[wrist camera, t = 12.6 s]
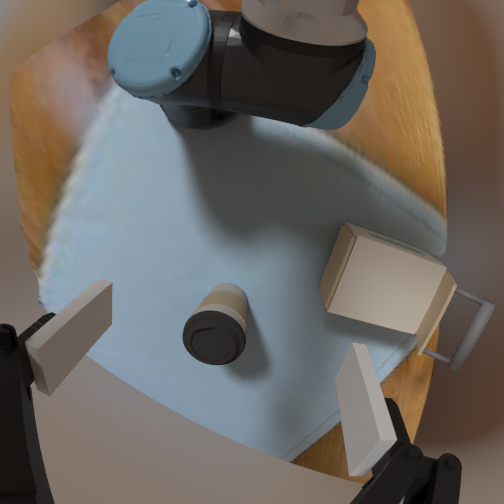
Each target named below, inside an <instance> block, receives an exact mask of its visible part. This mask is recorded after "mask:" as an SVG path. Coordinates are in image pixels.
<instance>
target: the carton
mask: <svg viewBox="0 0 504 504" xmlns="http://www.w3.org/2000/svg"><path fill="white" fill-rule="evenodd" d="M446 269H447V267H445V266H444V265H443V264H441V263H440V262H439V261H437V260H436V259H435V258H433V257H432V256H431V255H429V254H428V253H427V252H425V251H424V250H421V249H419V248H416V247H413V246H411V245H408V244H406V243H403V242H400V241H398V240H395V239H392V238H389V237H387V236H384V235H381V234H378V233H376V232H373V231H370V230H367V229H365V228H362V227H359V226H356V225H353V224H350V223H347V222H345V224H344V225H341V228H340V231H339V234H338V236H337V239H336V242H335V245H334V247H333V250H332V253H331V255H330V258H329V261H328V263H327V266H326V268H325V271H324V274H323V276H322V279H321V281H320V284H319V289H320V293H321V296H322V300H323V304H324V307H326V309H327V312H330V313H334V314H338V315H341V316H345V317H349V318H352V319H356V320H360V321H364V322H367V323H371V324H375V325H379V326H383V327H387V328H390V329H394V330H398V331H402V332H406V333H410V334H414V335H415V333H416V331H417V329H418V327H419V326H420V324H421V322H422V320H423V318H424V316H425V314H426V312H427V310H428V308H429V306H430V304H431V302H432V300H433V298H434V296H435V294H436V292H437V289H438V287H439V285H440V283H441V281H442V278H443V276H444V274H445V272H446Z"/></svg>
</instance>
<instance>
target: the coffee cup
mask: <svg viewBox="0 0 504 504" xmlns="http://www.w3.org/2000/svg"><path fill="white" fill-rule="evenodd" d="M246 327H247V296H246V294H245V292H244V291H243V290H242V289H241V288H240V287H239V286H237V285H235V284H232V283H222V284H219V285H217V286H215V287H214V288H213V289H212V290H211V292H210V293H209V295H208V296H207V297H206V298H205V299H204V300H203V301H202V303H201V304H200V305H199V307H198V308H197V309H196V311H195V312H194V313H193V315H192V316H191V317H190V318H189V319H188V321H187V322H186V324H185V327H184V331H183V343H184V346H185V348H186V349H187V351H188V352H189V353H190V354H191V355H192V356H193V357H194V358H195V359H197V360H199V361H201V362H203V363H206V364H210V365H223V364H227V363H230V362H232V361H234V360H236V359H237V358H238V357H239V356H240V355H241V353H242V352H243V350H244V348H245V344H246V337H245V336H246Z"/></svg>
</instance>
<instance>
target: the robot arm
mask: <svg viewBox="0 0 504 504" xmlns="http://www.w3.org/2000/svg"><path fill="white" fill-rule="evenodd" d="M358 3H359V0H245V1H244V2H243V3H242V6H241V12H234V11H222V10H207V8H206V7H205V6H204V5H203V4H202V3H200V2H199V1H198V0H146V1H145V2H143V3H141V4H140V5H138V6H137V7H135V8H134V10H133V12H132V13H131V14H129V15H127V16H125V17H124V19H123V20H122V21H121V22H120V24H119V25H118V27H117V28H116V30H115V32H114V34H113V36H112V38H111V41H110V45H109V49H108V67H109V71H110V74H111V75H112V77H113V79H114V80H115V82H116V83H117V84H118V85H119V86H120V87H121V88H122V89H124V90H125V91H127V92H128V93H129V94H131V95H132V96H134V97H138V98H139V99H146V100H149V101H152V102H154V103H157V104H160V106H161V108H162V110H163V111H164V113H165V114H166V115H167V116H168V117H169V118H170V119H172V120H173V121H174V122H176V123H178V124H180V125H183V126H186V127H189V128H193V129H210V128H215V127H218V126H221V125H223V124H225V123H227V122H228V121H230V120H231V119H233V118H234V117H235V116H236V115H237V114H238V113H242V114H247V115H252V116H258V117H263V118H267V119H272V120H277V121H281V122H286V123H290V124H294V125H298V126H300V127H312V128H318V129H323V130H336V129H339V128H341V127H342V126H344V125H345V124H346V123H347V122H349V120H350V119H351V118H352V117H353V116H354V114H355V113H356V111H357V110H358V108H359V106H360V104H361V103H362V101H363V99H364V97H365V94H366V92H367V89H368V81H369V80H370V78H371V77H372V74H373V71H374V66H375V59H376V51H375V46H374V44H373V42H372V41H371V40H369V39H368V38H367V37H366V35H367V32H368V27H367V24H366V22H365V21H364V19H363V18H362V16H361V15H360V13H359V12H358V11H357V6H358ZM111 324H112V282H110V281H107V280H104V279H99V280H98V281H97V282H96V283H94V284H93V285H92V286H91V287H89V288H88V289H87V290H86V291H84V292H83V293H82V294H81V295H79V296H78V297H77V298H76V299H74V300H73V301H72V302H71V303H70V304H68V305H67V306H66V307H65V308H64V309H62V310H61V311H60V312H59V313H58V314H55V313H52V312H51V313H49V314H46V315H44V316H42V317H41V318H40V319H38V320H37V322H35V323H34V324H32V326H30V327H29V328H28V329H27V330H25V331H24V332H23V333H22V334H21V335H19V336H18V337H17V334H16V330H15V328H14V327H13V326H11V325H9V324H0V504H55V503H54V500H53V497H52V493H51V490H50V487H49V483H48V479H47V475H46V471H45V467H44V463H43V459H42V455H41V450H40V444H39V439H38V434H37V428H36V422H35V415H34V407H33V399H32V390H31V387H30V385H31V384H32V382H33V381H34V380H35V384H36V387H37V389H38V390H39V391H41V392H43V393H45V394H46V395H48V396H51V395H52V393H53V392H54V391H55V389H56V388H57V387H58V386H59V385H60V384H61V382H62V381H63V380H64V379H65V378H66V376H67V375H68V374H69V373H70V371H71V370H72V369H73V368H74V367H75V366H76V365H77V363H78V362H79V361H80V360H81V359H82V358H83V356H84V355H85V354H86V353H87V352H88V351H89V349H90V348H91V347H92V346H93V345H94V344H95V343H96V341H97V340H98V339H99V338H100V337H101V336H102V335H103V333H104V332H105V331H106V330H107V329H108V328H109V327H110V326H111ZM334 382H335V388H336V393H337V399H338V405H339V411H340V417H341V423H342V430H343V436H344V443H345V449H346V456H347V464H348V471H349V476H366V475H367V473H368V472H369V471H370V470H371V469H372V474H373V477H372V478H371V479H370V480H369V481H368V482H367V483H366V484H365V485H364V486H363V487H362V490H361V491H360V492H359V494H358V495H357V496H356V497H355V498H354V499H353V501H352V502H351V503H350V504H399V503H400V502H401V500H402V499H403V497H404V496H405V497H404V501H403V504H458V502H459V493H460V484H461V470H462V466H461V462H460V460H459V459H458V458H457V457H456V456H455V455H453V454H449V453H446V454H443V455H442V456H440V458H439V459H433V458H429V457H425V456H424V455H423V453H422V451H421V449H419V448H418V447H417V446H415V445H413V444H411V442H410V439H409V436H408V433H407V430H406V427H405V424H404V422H403V419H402V416H401V413H400V410H399V408H398V405H397V404H396V403H395V402H394V401H393V399H392V398H384V397H383V394H382V391H381V388H380V385H379V382H378V379H377V376H376V373H375V370H374V368H373V365H372V362H371V359H370V356H369V354H368V351H367V348H366V346H365V344H359V343H353V342H352V344H351V346H350V349H349V351H348V353H347V355H346V357H345V359H344V361H343V363H342V366H341V368H340V370H339V372H338V374H337V376H336V378H335V380H334Z"/></svg>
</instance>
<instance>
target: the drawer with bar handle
mask: <svg viewBox="0 0 504 504" xmlns="http://www.w3.org/2000/svg"><path fill="white" fill-rule="evenodd" d="M454 292H455V293H457V294H459V295H461V296H463V297H466V298H467V299H470V300H472V301H474V302H476V303H478V304H480V306H479V308H478V310H477V312H476V314H475V316H474V318H473V320H472V322H471V324H470V326H469V328H468V329H467V331H466V333H465V335H464V337H463V338H462V340H461V342H460V344H459V345H458V347H457V349H456V350H455V352H454V354H453V355H452V357H451V359H449V358H446V357H444V356H442V355H440V354H437V353H435V352H433V351H431V350H428V349H426V348H425V347H426V345H427V343H428V341H429V340H430V338H431V336H432V334H433V333H434V331H435V329H436V327H437V325H438V323H439V321H440V319H441V318H442V316H443V314H444V312H445V310H446V308H447V306H448V304H449V302H450V300H451V298H452V296H453V293H454ZM494 308H495V304H493V303H492V302H490V301H489V300H487V299H483V300H482V299H479V298H477V297H475V296H473V295H471V294H469V293H467V292H465V291H463V290H461V289H459V288H457V285H456V283H455V281H454V280H453V278H452V277H451V275H450V273H449V272H447V271H446V272H445V275H444V277H443V279H442V281H441V284H440V286H439V288H438V290H437V292H436V294H435V296H434V299H433V301H432V303H431V305H430V307H429V309H428V311H427V313H426V315H425V317H424V319H423V321H422V322H421V324H420V326H419V328H418V330H417V332H416V336H417V355H419V356H420V355H421V353H422V352H423V353H425V354H427V355H430V356H432V357H434V358H436V359H439V360H441V361H443V362H446V363H447V364H448V366H449V367H450V368H451V369H453V370H454V371H458V370H459V369H460V368H461V366H462V364H463V363H464V361H465V360H466V358H467V357H468V355H469V353H470V352H471V350H472V348H473V346H474V345H475V343H476V341H477V340H478V338H479V336H480V334H481V332H482V331H483V329H484V327H485V325H486V323H487V322H488V319H489V318H490V316H491V314H492V312H493V310H494Z"/></svg>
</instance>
